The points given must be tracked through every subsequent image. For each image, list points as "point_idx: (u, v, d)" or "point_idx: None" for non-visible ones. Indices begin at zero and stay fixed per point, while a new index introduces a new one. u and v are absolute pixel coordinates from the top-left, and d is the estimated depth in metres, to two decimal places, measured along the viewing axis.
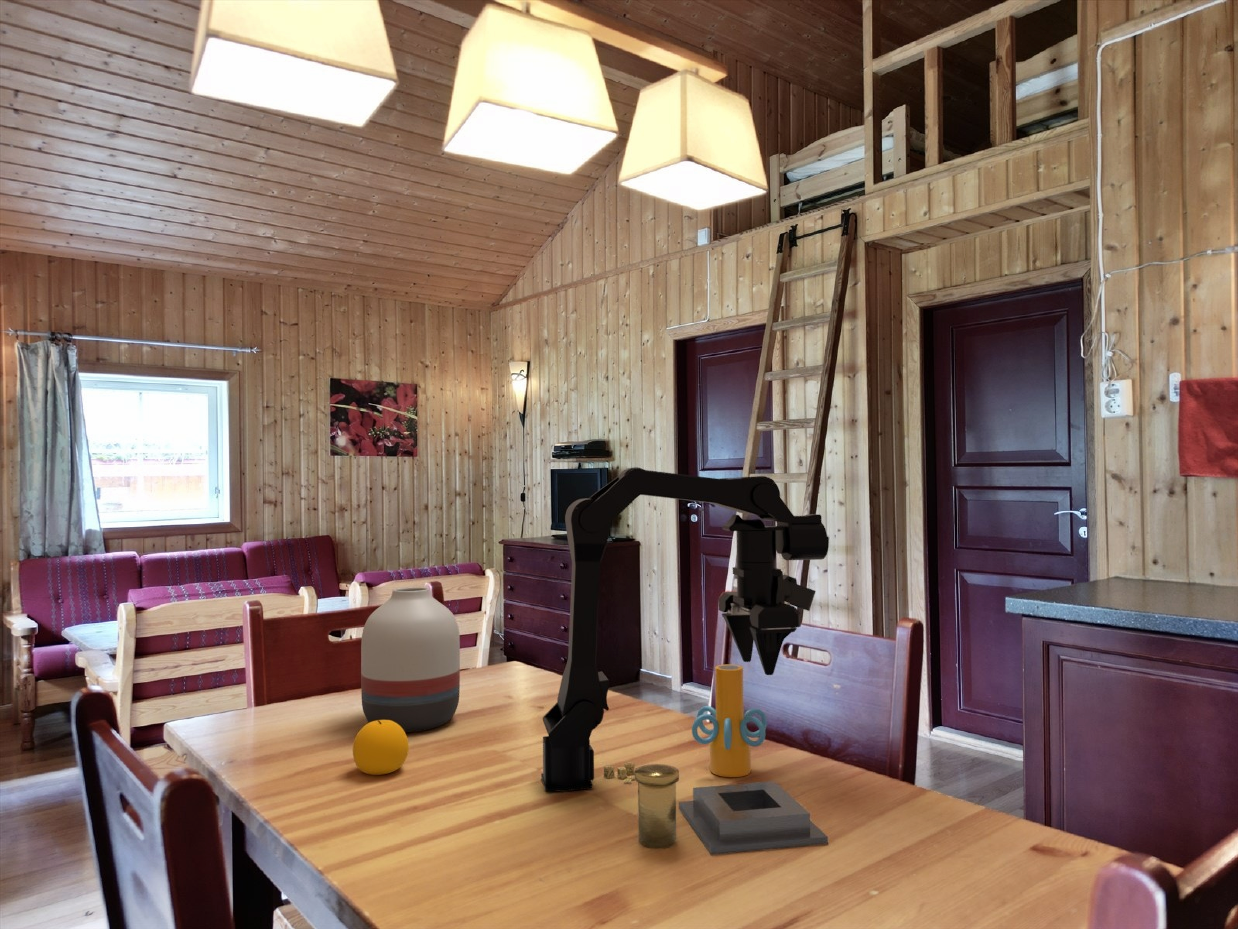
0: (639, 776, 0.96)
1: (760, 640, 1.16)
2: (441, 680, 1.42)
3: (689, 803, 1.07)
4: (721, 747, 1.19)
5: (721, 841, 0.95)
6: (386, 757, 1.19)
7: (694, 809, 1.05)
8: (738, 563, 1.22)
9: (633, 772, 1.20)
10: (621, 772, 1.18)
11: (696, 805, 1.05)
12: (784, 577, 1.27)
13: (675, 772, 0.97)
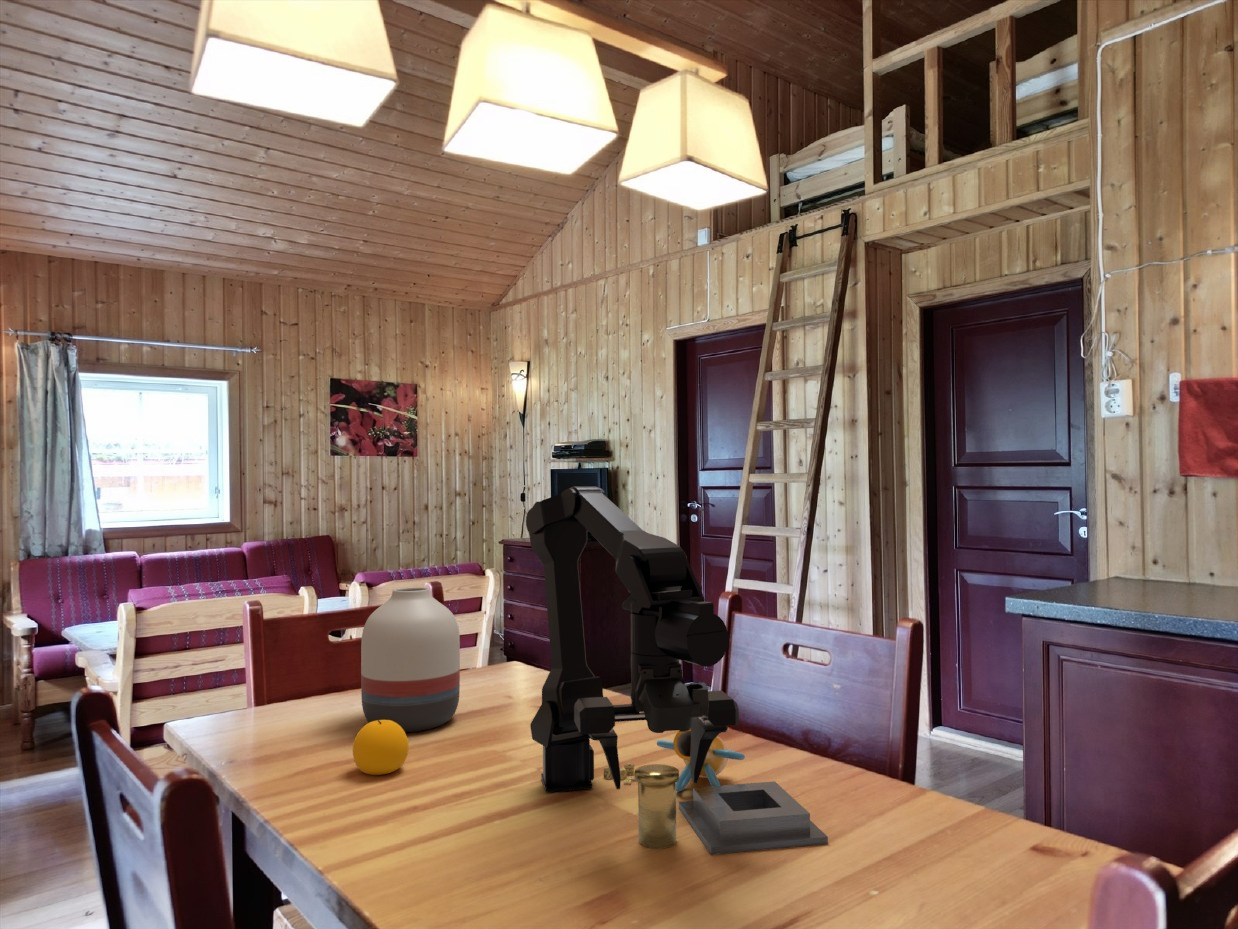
0: (639, 776, 0.96)
1: None
2: (441, 680, 1.42)
3: (689, 803, 1.07)
4: (705, 774, 1.15)
5: (721, 841, 0.95)
6: (386, 757, 1.19)
7: (694, 809, 1.05)
8: None
9: (633, 773, 1.20)
10: (621, 773, 1.18)
11: (696, 805, 1.05)
12: None
13: (675, 772, 0.97)
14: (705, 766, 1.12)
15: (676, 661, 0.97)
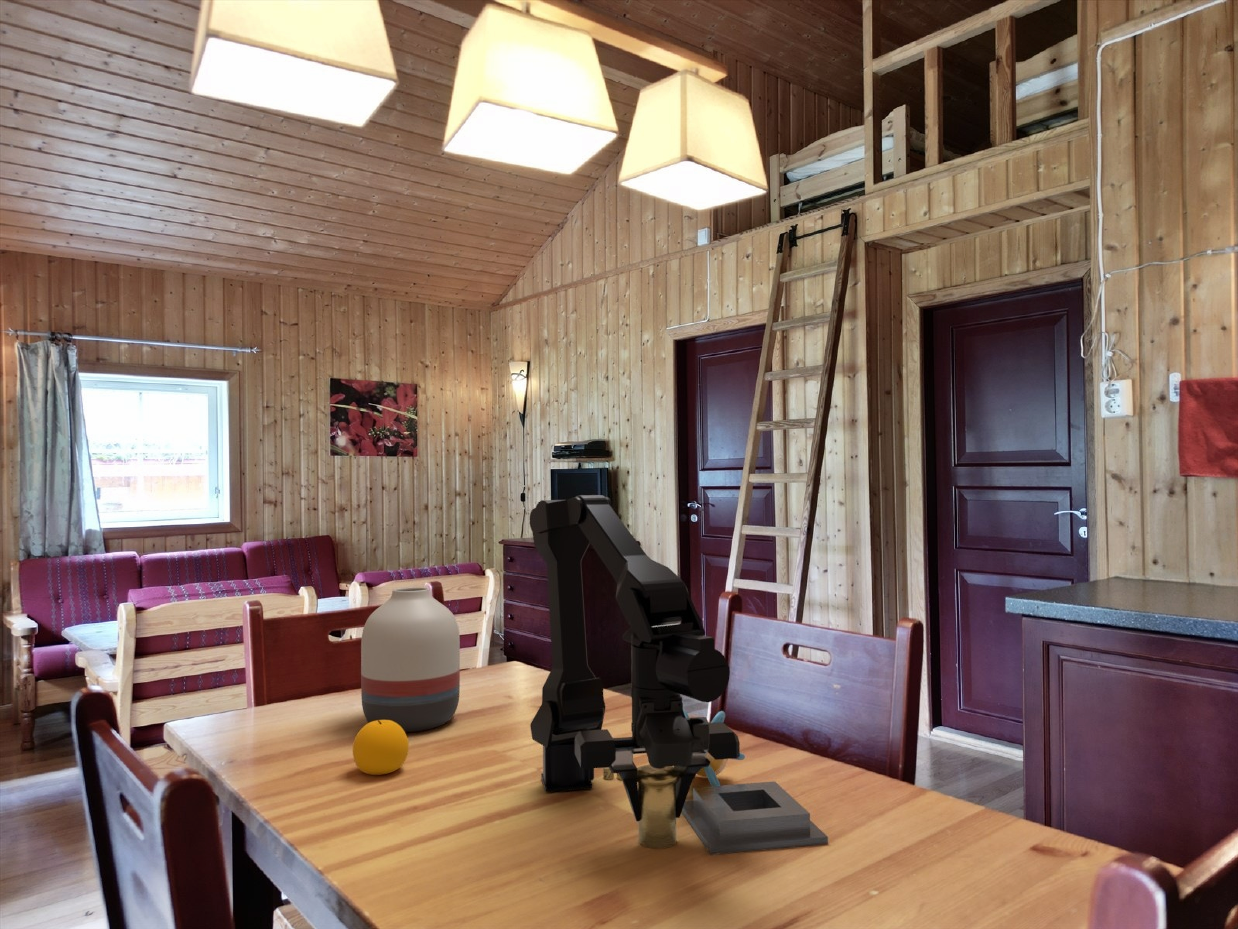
0: (639, 776, 0.96)
1: None
2: (441, 680, 1.42)
3: (689, 803, 1.07)
4: (705, 774, 1.15)
5: (721, 841, 0.95)
6: (386, 757, 1.19)
7: (694, 809, 1.05)
8: None
9: None
10: None
11: (696, 805, 1.05)
12: None
13: (675, 772, 0.97)
14: None
15: (677, 694, 0.96)
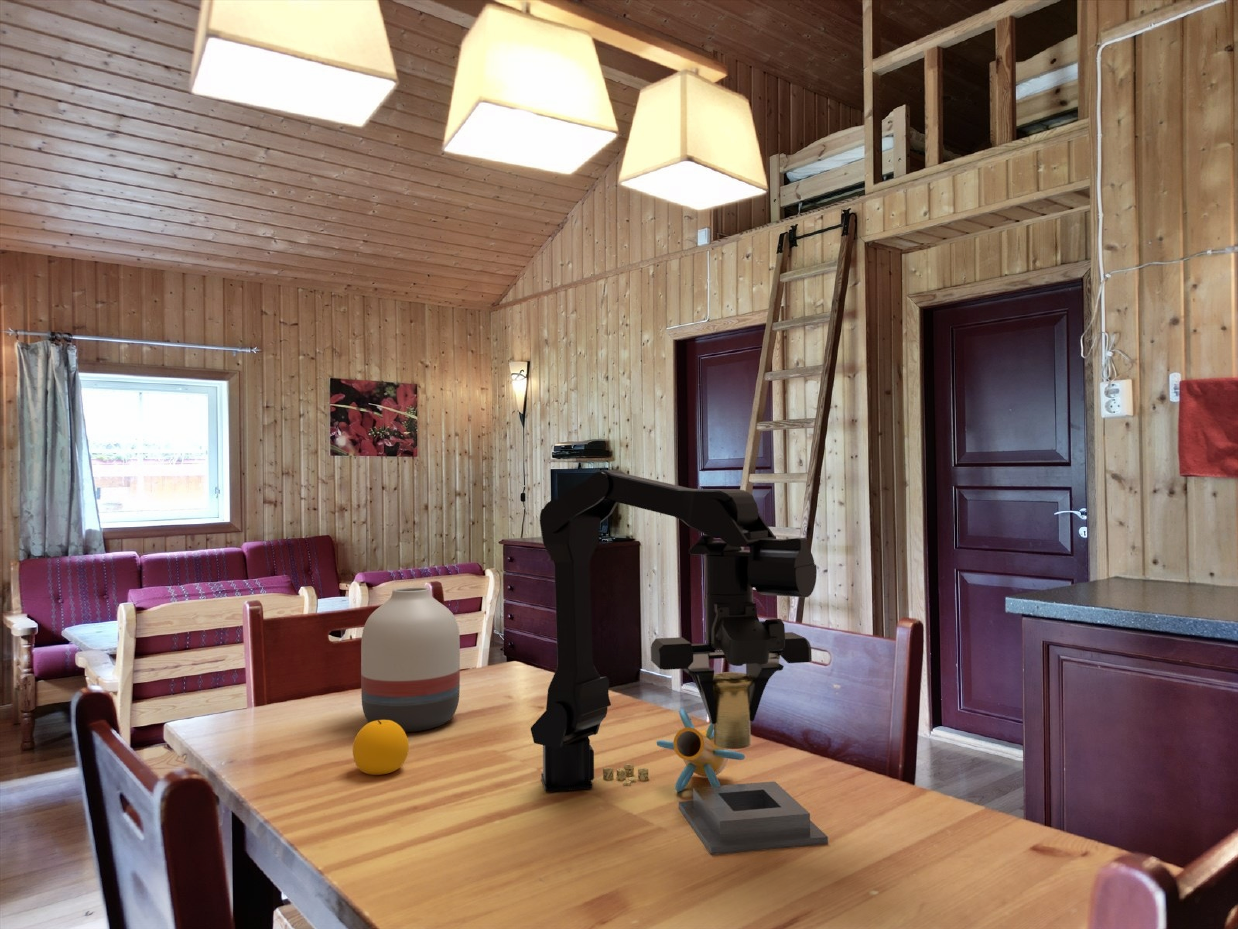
0: (715, 680, 1.00)
1: (693, 677, 1.02)
2: (441, 680, 1.42)
3: (689, 803, 1.07)
4: (705, 774, 1.15)
5: (721, 841, 0.95)
6: (386, 757, 1.19)
7: (694, 809, 1.05)
8: None
9: (632, 774, 1.20)
10: (620, 774, 1.18)
11: (696, 805, 1.05)
12: None
13: (749, 677, 1.01)
14: (705, 766, 1.12)
15: (750, 601, 1.00)
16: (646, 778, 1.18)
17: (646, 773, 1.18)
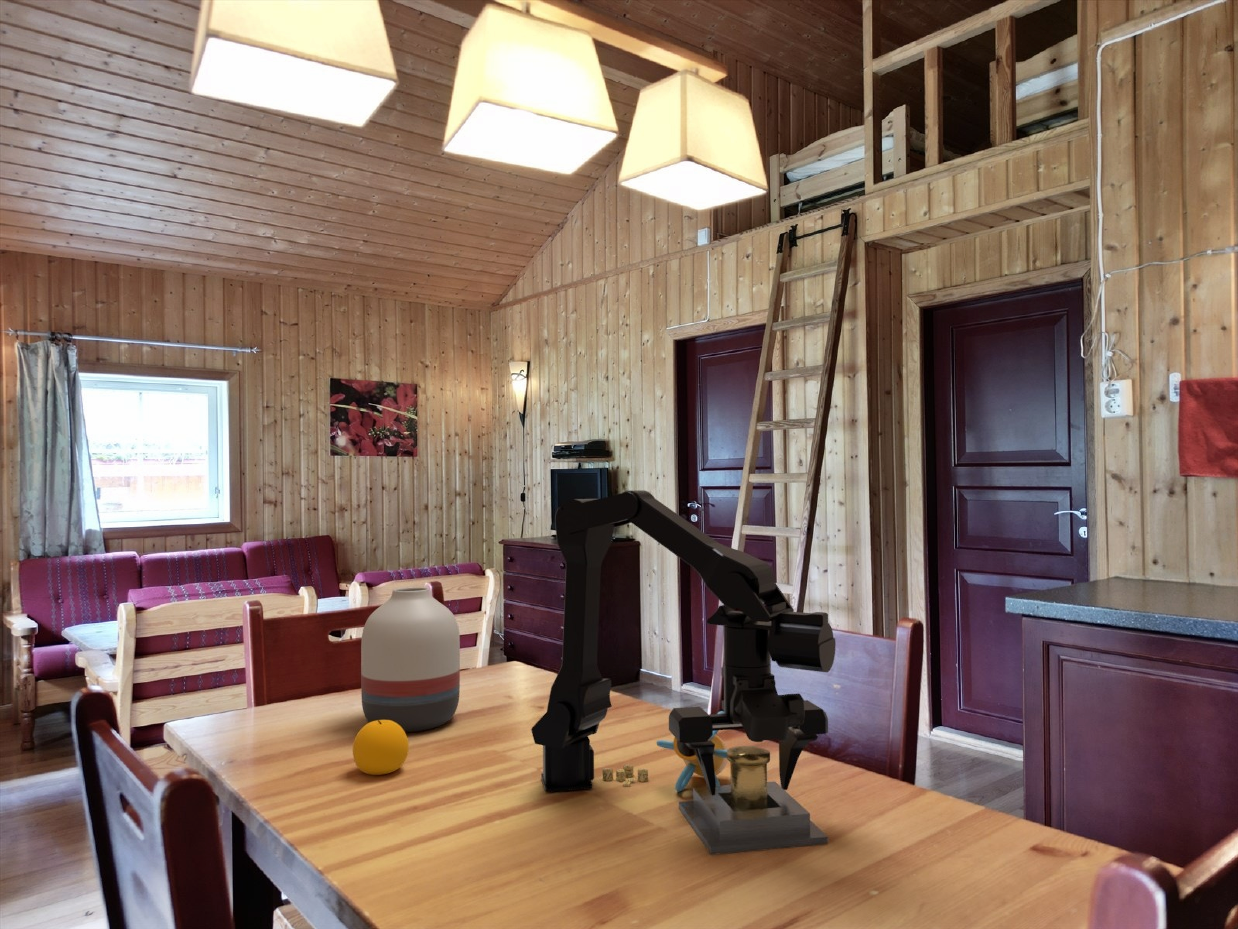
0: (733, 756, 1.00)
1: None
2: (441, 680, 1.42)
3: (689, 803, 1.07)
4: None
5: (721, 841, 0.95)
6: (386, 757, 1.19)
7: (694, 809, 1.05)
8: None
9: (632, 774, 1.19)
10: (620, 774, 1.17)
11: (696, 805, 1.05)
12: None
13: (766, 752, 1.02)
14: None
15: (768, 672, 1.01)
16: (646, 779, 1.17)
17: (646, 774, 1.17)
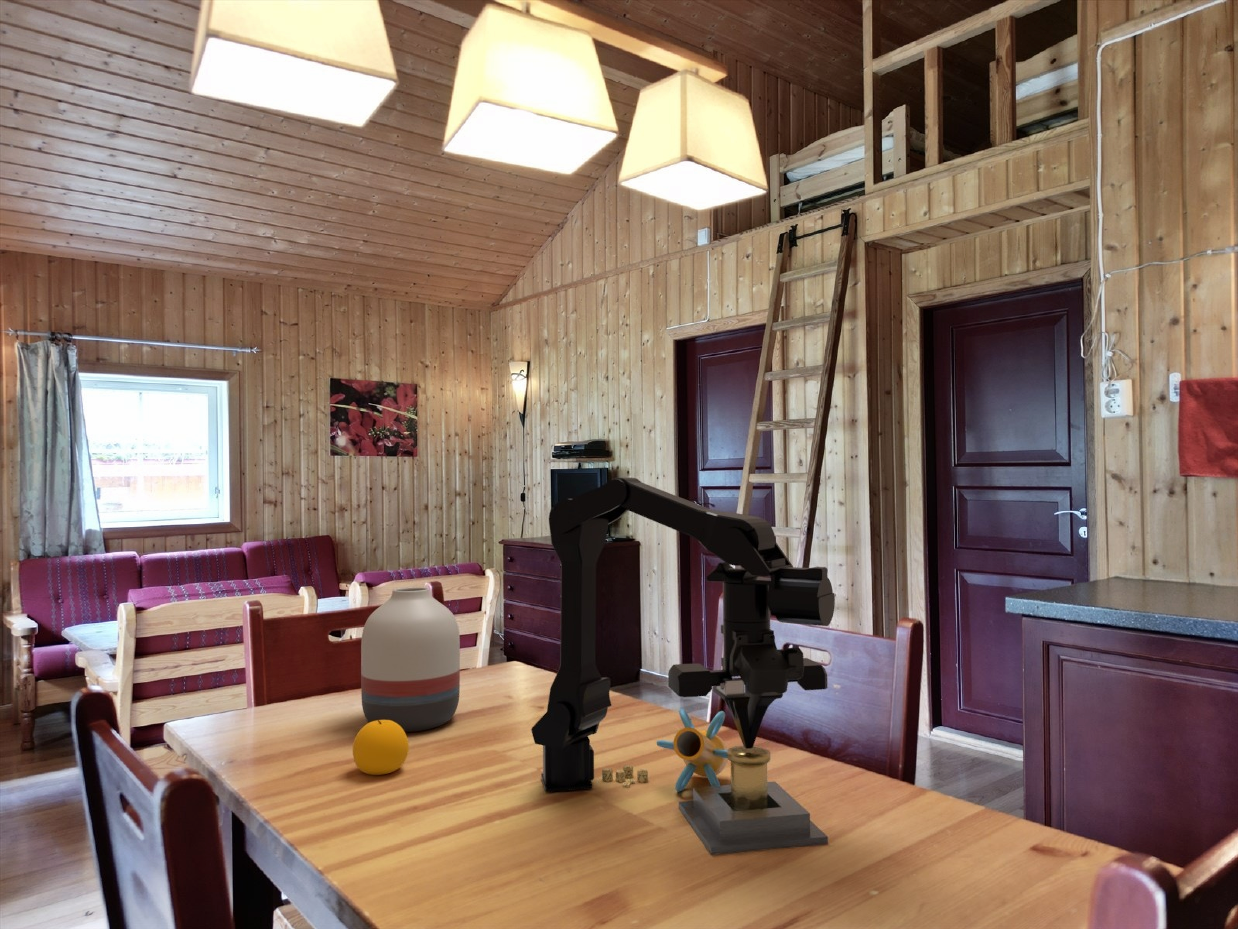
0: (733, 756, 1.00)
1: (727, 701, 1.04)
2: (441, 680, 1.42)
3: (689, 803, 1.07)
4: (705, 774, 1.15)
5: (721, 841, 0.95)
6: (386, 757, 1.19)
7: (694, 809, 1.05)
8: None
9: (632, 775, 1.19)
10: (619, 775, 1.17)
11: (696, 805, 1.05)
12: None
13: (766, 752, 1.02)
14: (705, 766, 1.12)
15: (768, 628, 1.01)
16: (645, 780, 1.17)
17: (645, 775, 1.17)
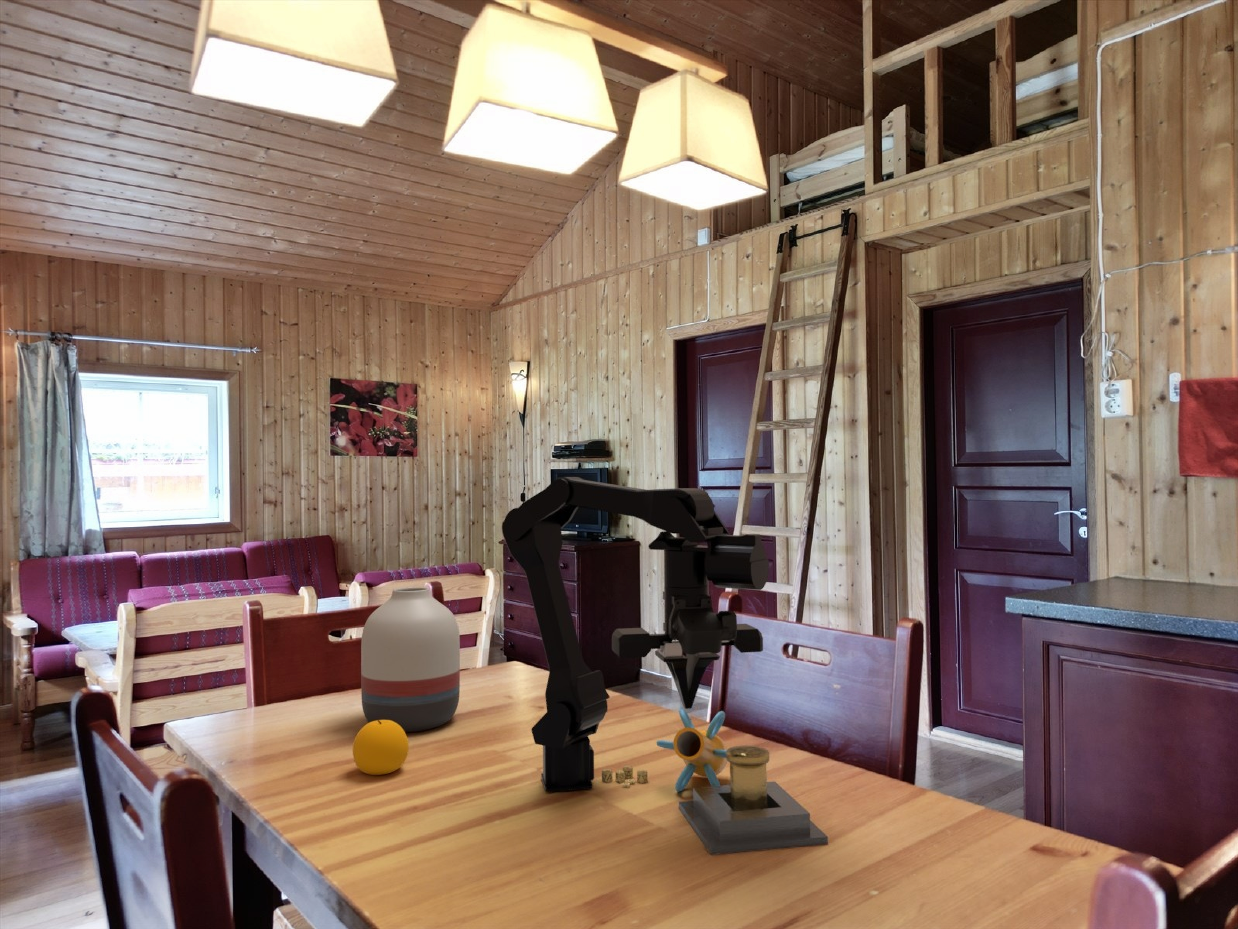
0: (732, 757, 1.00)
1: (668, 664, 1.08)
2: (441, 680, 1.42)
3: (689, 803, 1.07)
4: (704, 774, 1.15)
5: (721, 841, 0.95)
6: (386, 757, 1.19)
7: (694, 809, 1.05)
8: None
9: (631, 776, 1.19)
10: (619, 776, 1.17)
11: (696, 805, 1.05)
12: None
13: (765, 752, 1.02)
14: (705, 766, 1.12)
15: (706, 593, 1.06)
16: (645, 780, 1.17)
17: (645, 775, 1.17)
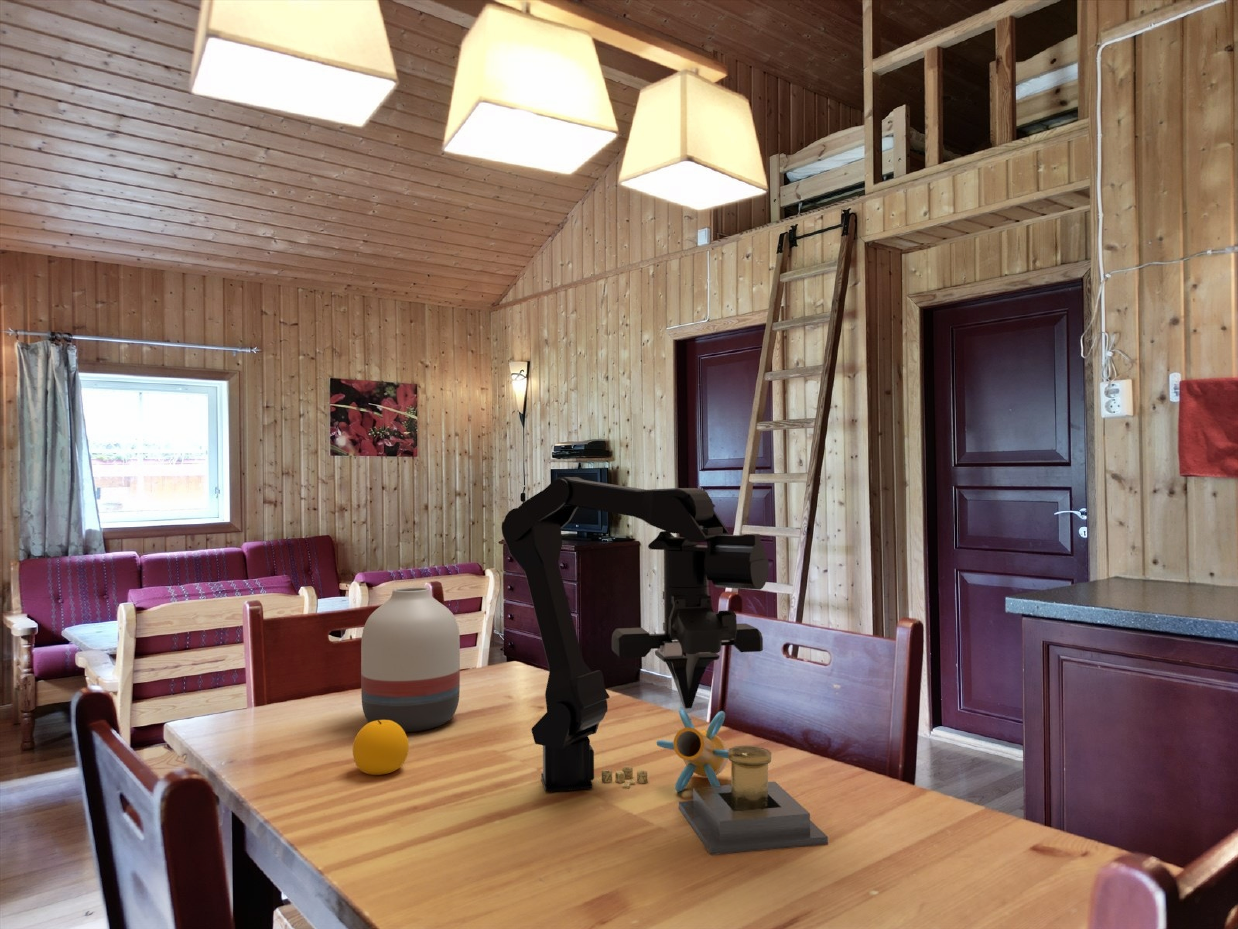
0: (735, 756, 1.00)
1: (668, 664, 1.08)
2: (441, 680, 1.42)
3: (689, 803, 1.07)
4: (705, 774, 1.15)
5: (721, 841, 0.95)
6: (386, 757, 1.19)
7: (694, 809, 1.05)
8: None
9: (631, 776, 1.19)
10: (619, 776, 1.17)
11: (696, 805, 1.05)
12: None
13: (767, 752, 1.02)
14: (705, 766, 1.12)
15: (705, 593, 1.06)
16: (645, 781, 1.17)
17: (645, 776, 1.17)
